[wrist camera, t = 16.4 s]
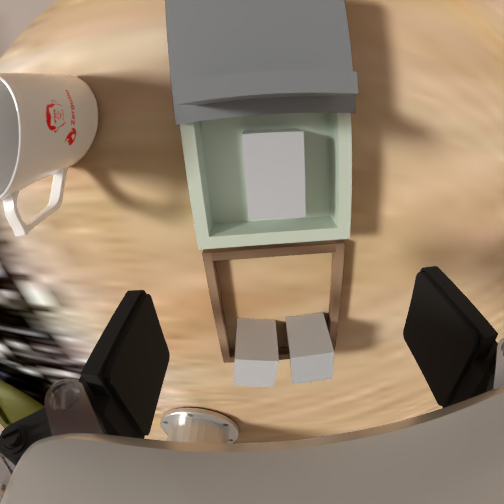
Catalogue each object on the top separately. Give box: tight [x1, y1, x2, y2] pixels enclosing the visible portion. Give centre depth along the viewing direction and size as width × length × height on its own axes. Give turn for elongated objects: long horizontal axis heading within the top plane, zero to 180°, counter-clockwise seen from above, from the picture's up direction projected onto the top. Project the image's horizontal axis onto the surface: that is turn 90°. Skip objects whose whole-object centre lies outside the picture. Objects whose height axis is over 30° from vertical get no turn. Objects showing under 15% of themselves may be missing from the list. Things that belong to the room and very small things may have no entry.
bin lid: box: [165, 0, 359, 125], centre depth 13 cm, size 12×12×6 cm
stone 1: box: [242, 128, 306, 220], centre depth 21 cm, size 4×4×6 cm
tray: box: [202, 239, 345, 363], centre depth 30 cm, size 14×13×1 cm
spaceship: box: [0, 380, 45, 428], centre depth 42 cm, size 35×31×10 cm
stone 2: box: [233, 318, 279, 387], centre depth 29 cm, size 4×4×6 cm
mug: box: [0, 73, 98, 237], centre depth 17 cm, size 12×9×11 cm
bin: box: [180, 113, 352, 250], centre depth 22 cm, size 12×12×4 cm
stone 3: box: [285, 312, 334, 384], centre depth 29 cm, size 4×4×6 cm
